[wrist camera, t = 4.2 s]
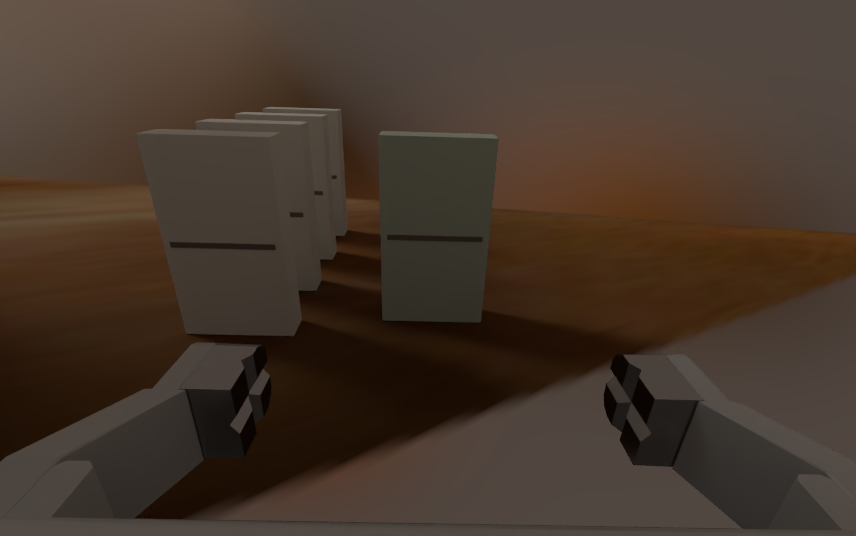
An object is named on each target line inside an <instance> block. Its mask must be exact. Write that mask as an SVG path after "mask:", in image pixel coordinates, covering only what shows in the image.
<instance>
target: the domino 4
mask: <svg viewBox="0 0 856 536" xmlns="http://www.w3.org/2000/svg"><path fill="white" fill-rule="evenodd" d="M497 150H498V138H497V137H496V136H495V135H494V134H463V133H461V134H460V133H429V132H394V131H382V132H381V133H380V134H379V174H380V175H379V176H380V228H381V280H382V320H387V321H433V322H479V323H481V316H482V306H483V295H484V285H485V275H486V264H487V254H488V243H489V233H490V223H491V212H492V202H493V191H494V181H495V170H496V159H497Z"/></svg>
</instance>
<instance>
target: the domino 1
mask: <svg viewBox="0 0 856 536" xmlns="http://www.w3.org/2000/svg"><path fill="white" fill-rule="evenodd" d="M136 137H137V141H138V145H139V149H140V153H141V157H142V161H143V165H144V169H145V172H146V177H147V181H148V185H149V188H150V192H151V196H152V200H153V204H154V208H155V212H156V216H157V220H158V224H159V228H160V232H161V236H162V240H163V244H164V248H165V251H166V255H167V259H168V263H169V267H170V271H171V275H172V279H173V283H174V287H175V291H176V295H177V299H178V303H179V307H180V311H181V315H182V318H183V322H184V326H185V330H186V334H218V335H265V336H294V335H295V333H296V331H297V329H298V327H299V325H300V323H301V321H302V318H301V309H300V300H299V291H298V282H297V274H296V265H295V256H294V247H293V239H292V230H291V221H290V212H289V203H288V195H287V186H286V177H285V168H284V160H283V151H282V142H281V133H276V132H242V131H209V130H174V129H155V130H149V131H144V132H139V133H136Z"/></svg>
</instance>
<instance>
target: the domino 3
mask: <svg viewBox="0 0 856 536" xmlns="http://www.w3.org/2000/svg"><path fill="white" fill-rule="evenodd" d="M235 117H236V120H267V121H300V122H308V127H309V138H310V150H311V161H312V173H313V185H314V196H315V208H316V219H317V231H318V243H319V254H320V259H328V260H333V258H334V256H335V254H336V252H337V249H336V234H335V219H334V204H333V189H332V175H331V160H330V145H329V130H328V115H327V114H293V113H259V112H243V113H238V114H235Z"/></svg>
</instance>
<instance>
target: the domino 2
mask: <svg viewBox="0 0 856 536" xmlns="http://www.w3.org/2000/svg"><path fill="white" fill-rule="evenodd" d="M195 123H196V128H197V130H209V131H242V132H276V133H281V142H282V151H283V160H284V168H285V177H286V186H287V195H288V203H289V212H290V221H291V230H292V239H293V247H294V256H295V265H296V274H297V282H298V291H316V290H317V288H318V286H319V284H320V282H321V280H322V277H321V266H320V254H319V243H318V231H317V219H316V208H315V196H314V185H313V173H312V161H311V150H310V138H309V127H308V122H300V121H267V120H231V119H205V120H200V121H196V122H195Z"/></svg>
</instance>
